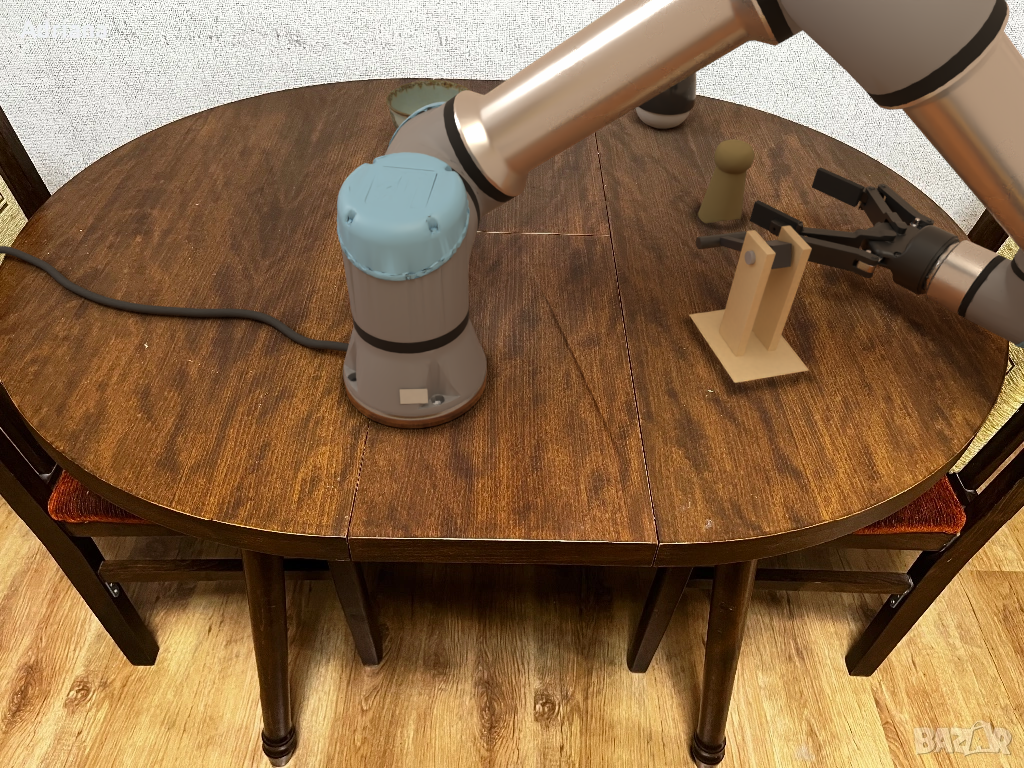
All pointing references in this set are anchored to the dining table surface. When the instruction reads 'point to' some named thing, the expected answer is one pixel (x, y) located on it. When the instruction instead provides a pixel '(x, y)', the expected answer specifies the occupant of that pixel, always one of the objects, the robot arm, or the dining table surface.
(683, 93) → the brown white egg shape
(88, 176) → the dining table surface
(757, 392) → the dining table surface
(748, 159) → the cork
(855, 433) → the dining table surface
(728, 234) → the lever
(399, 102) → the bowl
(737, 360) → the bracket
